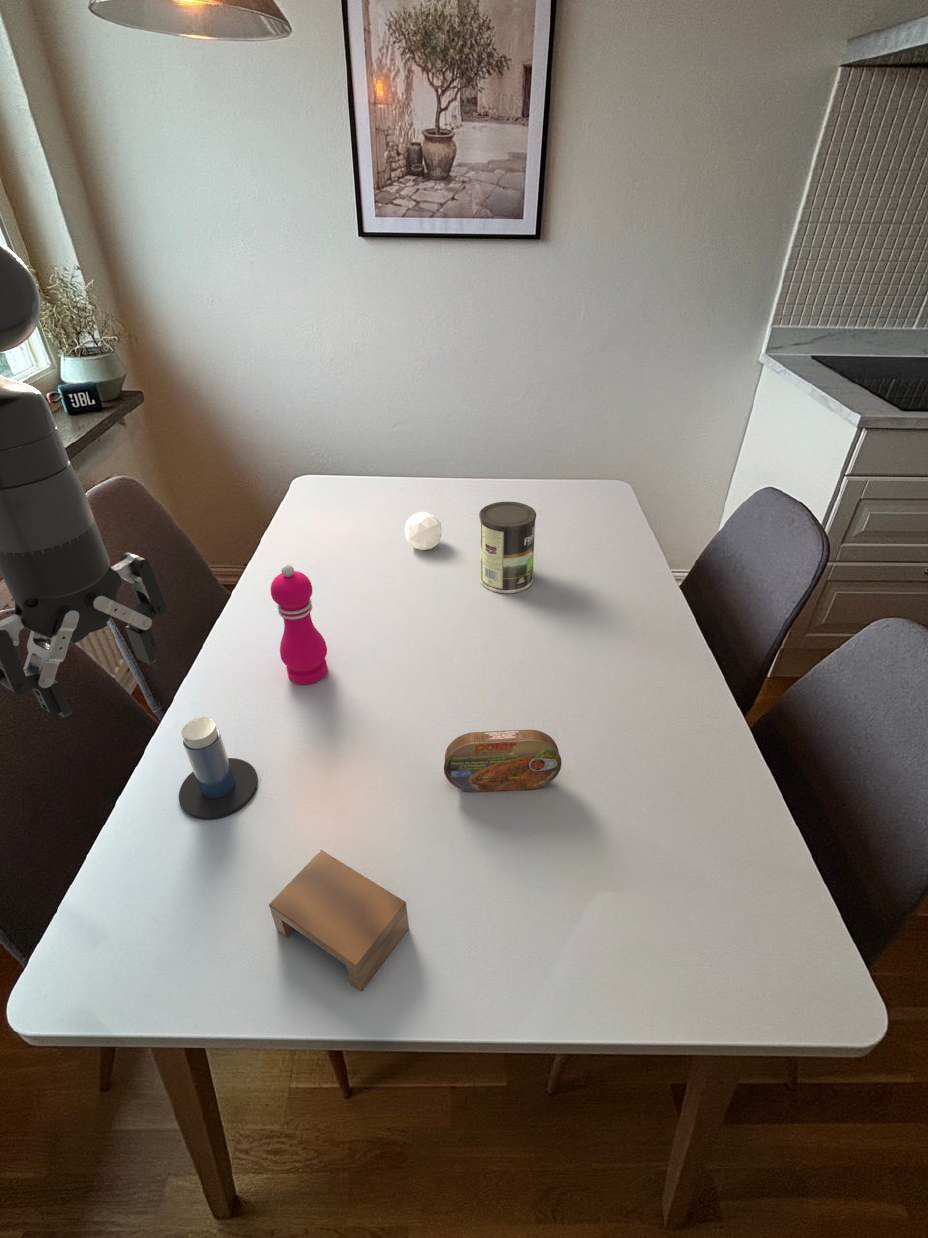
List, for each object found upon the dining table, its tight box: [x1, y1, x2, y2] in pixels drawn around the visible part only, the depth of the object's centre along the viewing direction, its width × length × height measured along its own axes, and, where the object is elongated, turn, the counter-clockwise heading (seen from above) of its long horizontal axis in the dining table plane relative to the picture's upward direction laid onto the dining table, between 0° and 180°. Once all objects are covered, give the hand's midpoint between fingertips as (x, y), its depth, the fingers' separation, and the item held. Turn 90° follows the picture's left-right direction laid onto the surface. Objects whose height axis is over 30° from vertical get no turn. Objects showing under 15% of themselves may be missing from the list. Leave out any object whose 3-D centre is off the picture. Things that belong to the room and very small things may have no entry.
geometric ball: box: [404, 511, 443, 551], centre depth 140 cm, size 8×8×8 cm
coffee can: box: [478, 501, 537, 594], centre depth 127 cm, size 10×10×14 cm
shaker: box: [181, 717, 235, 799], centre depth 87 cm, size 4×4×10 cm
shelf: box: [268, 849, 410, 992], centre depth 72 cm, size 8×12×5 cm, turn 57°
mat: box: [178, 757, 259, 821], centre depth 90 cm, size 10×10×1 cm
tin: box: [443, 729, 562, 793], centre depth 88 cm, size 15×3×8 cm, turn 92°
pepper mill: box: [270, 564, 328, 685], centre depth 104 cm, size 7×7×20 cm
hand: (106, 685), depth 62 cm, fingers open, 8 cm apart
